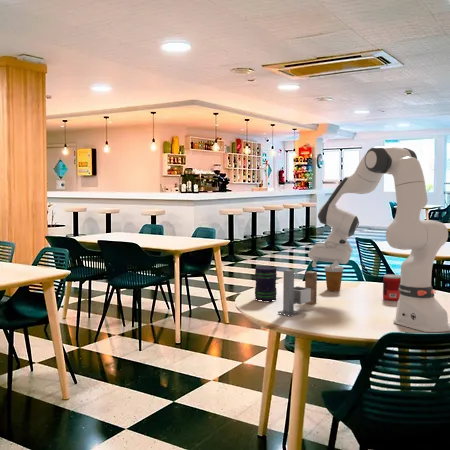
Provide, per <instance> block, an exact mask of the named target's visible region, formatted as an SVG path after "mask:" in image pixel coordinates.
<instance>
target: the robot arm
mask: <svg viewBox="0 0 450 450" xmlns="http://www.w3.org/2000/svg"><path fill="white" fill-rule="evenodd" d="M361 158H362V159H360V162H359V163H358V165H357V167H356V169H355V171H354V172H353V174H351V175H350V176H345V177H344V178H343V179H342V180H341V181H340V183H339V184H338V185H336V186H337V187H336V188H335V189H334V190H333V192H332V193H331V194H330V196H329V198H328V200H327V201H326V202H325V203H324V204H323V205H322V206H321V207H320V209H319V211H318V213H317V219H318V221H319V222H320V224H323V225H325V226H328V227H331V231H330V232H329V234H328V236H326V240H325V241H324V242H323V243H321V242H317V243H315V244H314V245H313V246H312V247H311V248H310V250H309V252H308V253H307V254H308V257H309V259H310V260H312V263H311V266H312V268H317V266H318V264H317V262H326V263H332V264H329V265H330V267H329V268H330V270H334V268H335V267H336V266H338V265H339V266H340V264H342V265H346V264H348V263H349V261H350V258H351V256H352V253H353V247H352V245H351V244H350V243H349V241H348V239H349V238H350V237H352V236H354V234H355V232H356V230H357V228H358V227H359V224H360V221H359V218H358V216H357V215H355V214H353V213H352V212H349V211H347V210H345V209H343V208H341V207H339V206H337V205H336V204H337V203H338V201H339V200H340V199H341V198H342V196H343V195H344V194H357V195H364V194H365V195H366V194H369V193H372V192H374V191H375V190H376V188H377V186H378V185H379V183H380V181H381V179H382V177H383V175H385V174H386V175H392V177H393V182H394V183H393V184H394V189H395V198H396V212H395V217H394V219H393V220H392V222H391V223H390V224H389V225H388V227H387V229H386V231H385V240H386V242H387V244H388V245H389V246H390V247H391V248H392V249H398V250H402V251H406V250H407V251H408V250H409V251H410V250H411V251H410V253H409V256H408V257H407V258H406V259H405V260H403V262H402V263H401V265H400V276H401V283H400V284H399V293H400V297H399V300H398V301H397V304H396V310H395V311H396V312H395V318H394V320H393V324H395V325H399V326H403V327H407V328H410V329H413V330H416V331H420V332H424V333H444V332H449V331H450V323H449V316H448V312H447V310H446V309H445V308H444V307H443V306H442V305H441V303H440V302H439V301H438V300H437V299H436V298H435V294H437V292H436V291H437V289H433V286H432V275H433V274H432V273H433V272H432V271H433V266H434V262H435V259H436V256H437V255H438V252H439V250H440V249H441V248H442V247H443V246H444V245H445V244H446V242H447V241H448V238H449V231H448V230H449V229H448V228H447V226H446V224H445V223H443V222H441V221H437V220H431V219H425V220H424V219H423V220H422V219H420V216H421V212H422V210H423V209H424V208H425V207H427V205H428V201H429V200H428V195H427V187H426V181H425V180H426V179H425V176H424V171H423V168H422V166H421V163H420V161H419V160H418V157H417V154H416V152H415V151H414V150H412V149H410V148H406V147H398V146H391V145H390V146H386V145H385V146H380V145H379V146H374V147H371V148H369V149H368V150H367V152H366V153H365V154H364V155H363V157H361Z"/></svg>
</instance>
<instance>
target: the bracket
mask: <svg viewBox="0 0 450 450" xmlns="http://www.w3.org/2000/svg"><path fill="white" fill-rule="evenodd" d="M282 289H283V290H282V291H283V295H282V296H283V299H282V301H283V302H282V304H283V305H282V307H283V308H282V309H283V310H280V311H279V310H278V311H277V314H278V313H281V314H285V315H289V316H290V317H292V316H291V315H294V316H296V315H295V314H297V315H299V314H300V312H299V311H297V310H294V307H295V306H294V305H297V304H298V305H302V304H303V305H304V304H307V302H311V288H305V287H304V286H295V270H294V269H290V268H289V269H284V270H283V288H282ZM289 316H288V317H289Z"/></svg>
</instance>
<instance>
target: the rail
mask: <svg viewBox="0 0 450 450" xmlns="http://www.w3.org/2000/svg"><path fill="white" fill-rule="evenodd" d="M304 273H305V278H304V279H305V280H304V284H305V285H304V286H305V288H311V302H307V303H306V304H308V305H315V304H317V300H318V299H317V289H318V288H317V287H318V286H317V285H318V272H317V271H312V270H309V271H305V272H304Z"/></svg>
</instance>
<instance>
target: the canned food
mask: <svg viewBox="0 0 450 450" xmlns="http://www.w3.org/2000/svg"><path fill="white" fill-rule="evenodd" d="M382 282H383V283H382V285H383V287H382V298H383V300H385V301H389V302H398V300H399V297H400V293H399V284H400V283H401V274H400V275H399V274H391V273H388V274H387V273H386V274H384V275H383V279H382Z"/></svg>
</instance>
